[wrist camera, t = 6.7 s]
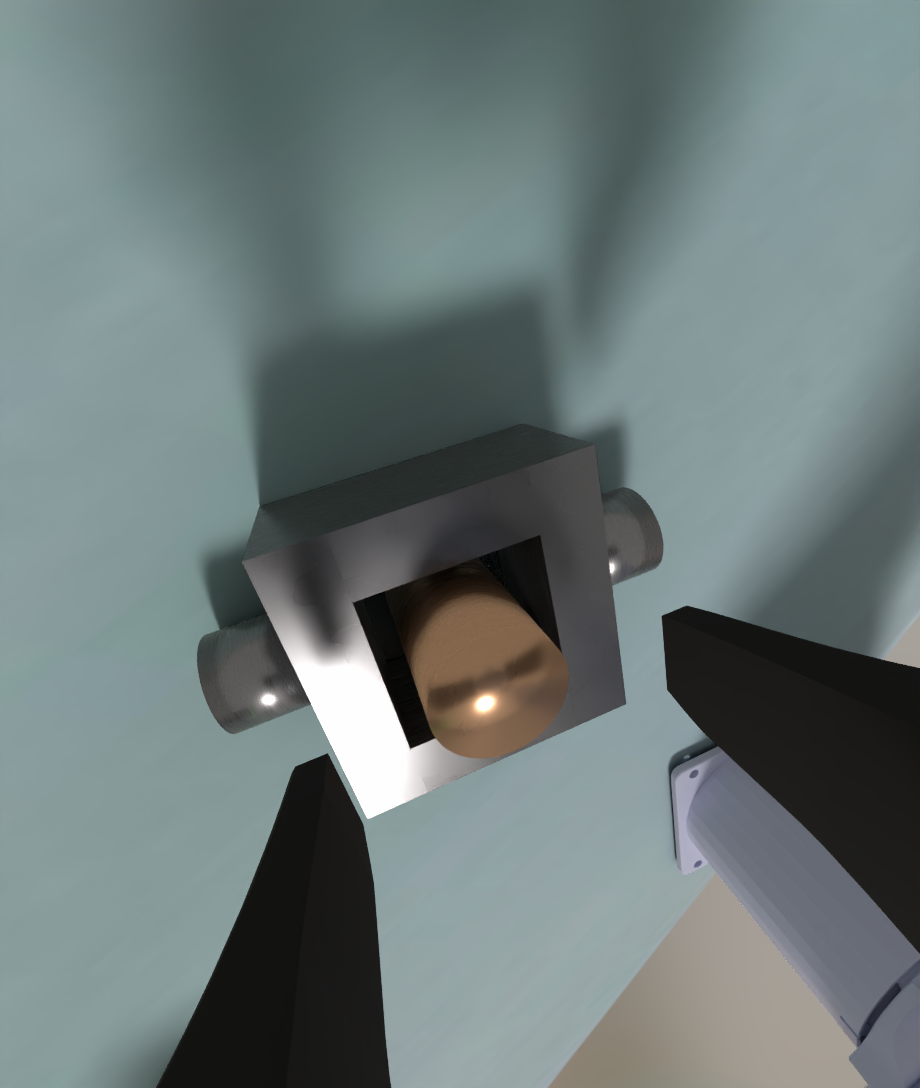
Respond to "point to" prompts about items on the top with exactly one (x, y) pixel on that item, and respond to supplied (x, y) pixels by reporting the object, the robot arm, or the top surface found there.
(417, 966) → the top surface
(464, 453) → the valve body
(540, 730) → the tapered valve plug
